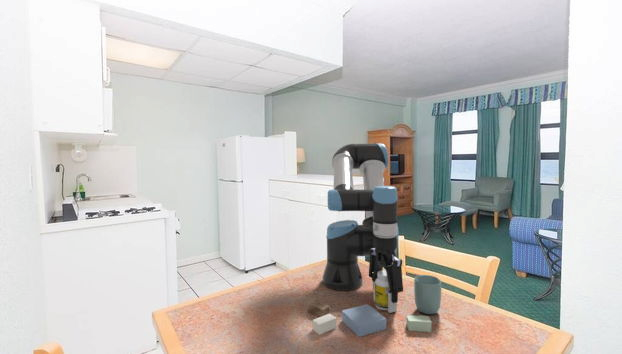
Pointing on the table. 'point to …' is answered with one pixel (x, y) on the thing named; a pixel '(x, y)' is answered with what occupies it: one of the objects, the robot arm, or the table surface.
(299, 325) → the table surface
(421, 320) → the sage brick
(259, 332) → the table surface
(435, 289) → the cup
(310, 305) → the walnut brick
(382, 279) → the pill bottle
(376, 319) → the slab
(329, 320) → the cream brick
